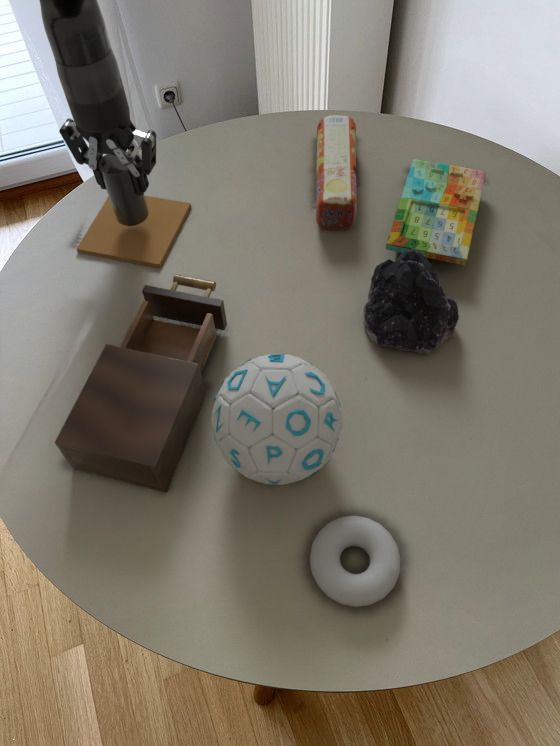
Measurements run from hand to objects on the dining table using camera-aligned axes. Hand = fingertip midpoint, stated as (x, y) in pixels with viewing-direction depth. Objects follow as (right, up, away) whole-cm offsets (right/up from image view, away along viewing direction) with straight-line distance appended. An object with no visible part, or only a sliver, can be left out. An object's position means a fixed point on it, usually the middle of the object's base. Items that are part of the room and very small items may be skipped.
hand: (124, 188), depth 98 cm
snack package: (+33, +3, +11) cm, 35 cm away
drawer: (+9, -23, -7) cm, 26 cm away
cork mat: (0, -5, +7) cm, 8 cm away
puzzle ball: (+23, -37, -16) cm, 47 cm away
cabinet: (+6, -35, -14) cm, 38 cm away
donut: (+32, -49, -24) cm, 63 cm away
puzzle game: (+48, -4, +5) cm, 48 cm away
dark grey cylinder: (0, -3, +4) cm, 5 cm away
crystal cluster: (+41, -20, -5) cm, 46 cm away
